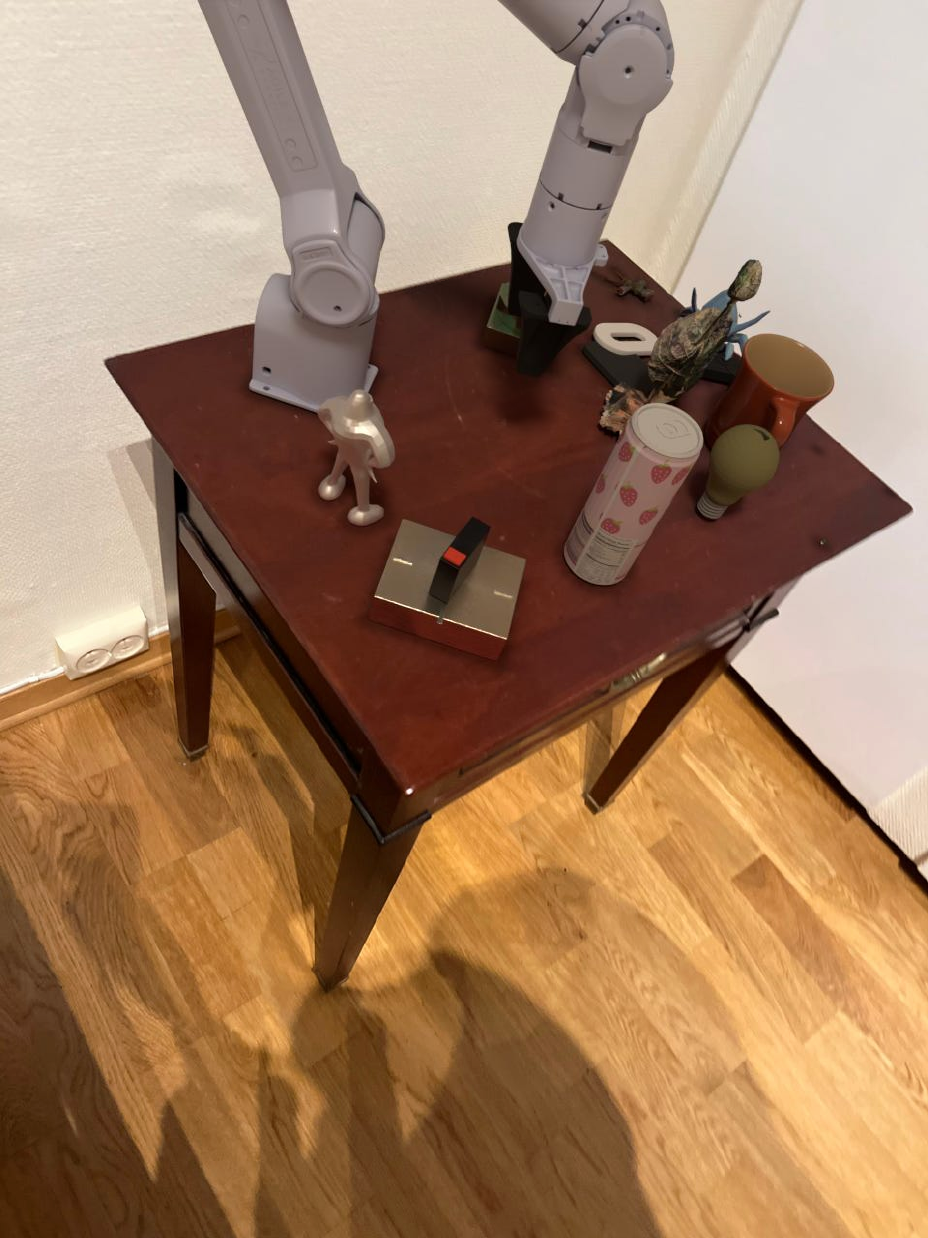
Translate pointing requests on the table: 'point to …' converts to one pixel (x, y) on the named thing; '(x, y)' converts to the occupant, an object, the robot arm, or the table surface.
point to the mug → (771, 388)
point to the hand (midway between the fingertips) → (523, 342)
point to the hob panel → (472, 611)
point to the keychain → (621, 368)
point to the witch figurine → (632, 286)
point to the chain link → (609, 330)
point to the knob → (459, 559)
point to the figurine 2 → (723, 363)
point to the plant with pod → (682, 352)
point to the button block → (503, 326)
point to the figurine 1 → (356, 450)
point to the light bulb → (738, 467)
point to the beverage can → (633, 492)
